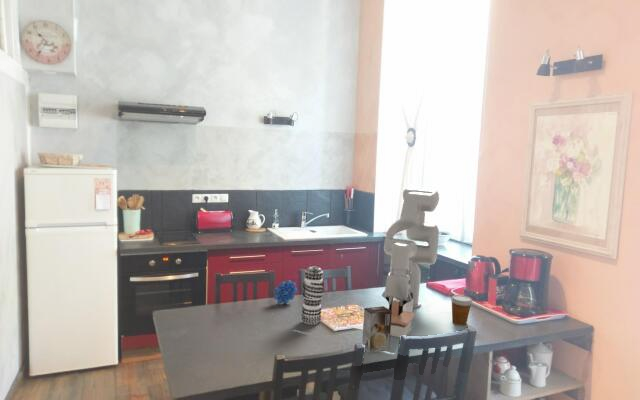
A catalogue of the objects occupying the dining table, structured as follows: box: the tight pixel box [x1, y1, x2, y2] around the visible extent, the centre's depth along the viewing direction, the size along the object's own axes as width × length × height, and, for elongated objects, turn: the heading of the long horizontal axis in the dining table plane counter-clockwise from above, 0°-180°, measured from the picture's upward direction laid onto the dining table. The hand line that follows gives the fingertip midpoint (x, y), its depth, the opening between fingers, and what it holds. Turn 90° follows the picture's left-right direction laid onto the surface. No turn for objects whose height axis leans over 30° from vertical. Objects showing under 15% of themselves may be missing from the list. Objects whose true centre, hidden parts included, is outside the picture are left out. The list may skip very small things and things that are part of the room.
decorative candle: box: [301, 265, 325, 326], centre depth 208 cm, size 9×9×25 cm
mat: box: [347, 325, 363, 331], centre depth 211 cm, size 14×14×1 cm
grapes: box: [273, 279, 298, 305], centre depth 232 cm, size 12×7×12 cm, turn 110°
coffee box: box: [361, 306, 392, 354], centre depth 185 cm, size 9×6×16 cm
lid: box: [384, 299, 416, 325], centre depth 203 cm, size 14×14×7 cm
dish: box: [390, 319, 413, 338], centre depth 204 cm, size 12×12×5 cm
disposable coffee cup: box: [450, 294, 473, 326], centre depth 219 cm, size 10×10×12 cm
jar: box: [394, 292, 414, 313], centre depth 222 cm, size 9×8×12 cm
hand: (395, 312), depth 204 cm, fingers closed on lid, 3 cm apart
